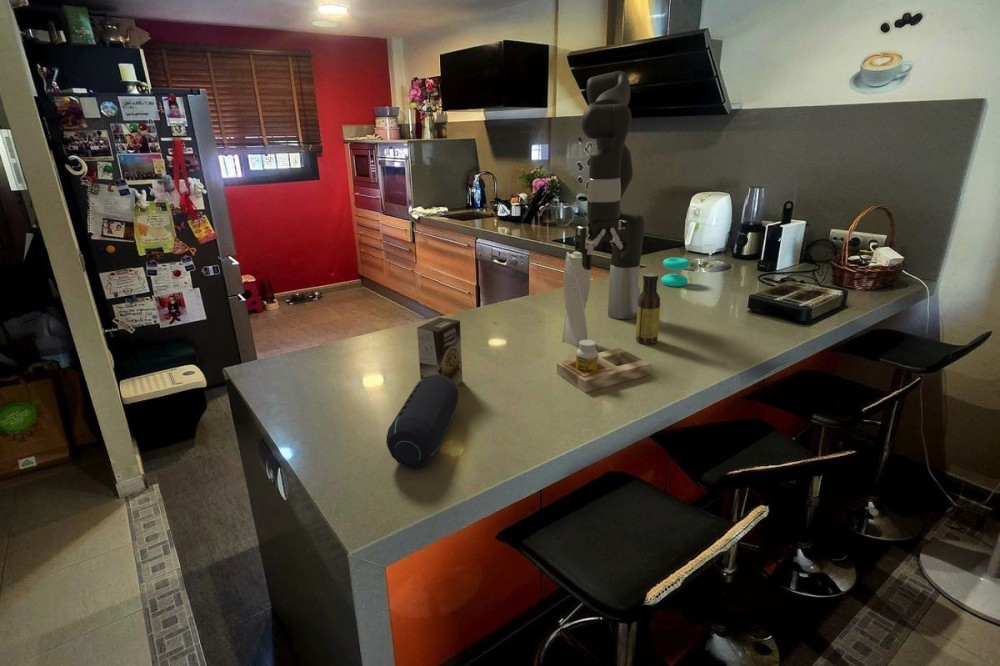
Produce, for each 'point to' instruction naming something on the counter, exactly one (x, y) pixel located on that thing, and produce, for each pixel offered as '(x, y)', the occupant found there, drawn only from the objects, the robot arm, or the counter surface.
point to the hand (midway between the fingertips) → (601, 266)
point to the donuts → (675, 279)
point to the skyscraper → (575, 298)
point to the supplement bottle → (587, 356)
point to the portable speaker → (423, 421)
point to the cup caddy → (605, 370)
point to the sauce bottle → (648, 311)
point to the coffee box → (440, 349)
